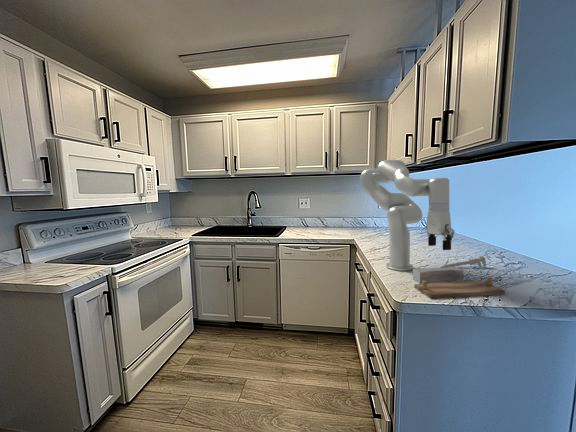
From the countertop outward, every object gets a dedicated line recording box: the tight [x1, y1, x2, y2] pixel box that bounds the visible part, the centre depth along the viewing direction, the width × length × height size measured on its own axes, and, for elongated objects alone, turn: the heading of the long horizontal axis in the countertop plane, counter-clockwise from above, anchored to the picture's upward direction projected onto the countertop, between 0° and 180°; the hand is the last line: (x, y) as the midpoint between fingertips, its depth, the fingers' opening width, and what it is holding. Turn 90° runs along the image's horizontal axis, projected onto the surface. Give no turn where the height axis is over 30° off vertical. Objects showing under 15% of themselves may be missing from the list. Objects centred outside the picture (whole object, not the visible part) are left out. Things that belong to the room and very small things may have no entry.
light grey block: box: [412, 266, 465, 284], centre depth 112 cm, size 6×19×5 cm, turn 93°
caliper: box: [440, 254, 487, 268], centre depth 129 cm, size 20×1×6 cm, turn 83°
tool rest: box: [413, 276, 506, 300], centre depth 100 cm, size 11×28×4 cm, turn 93°
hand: (439, 247), depth 110 cm, fingers open, 9 cm apart
